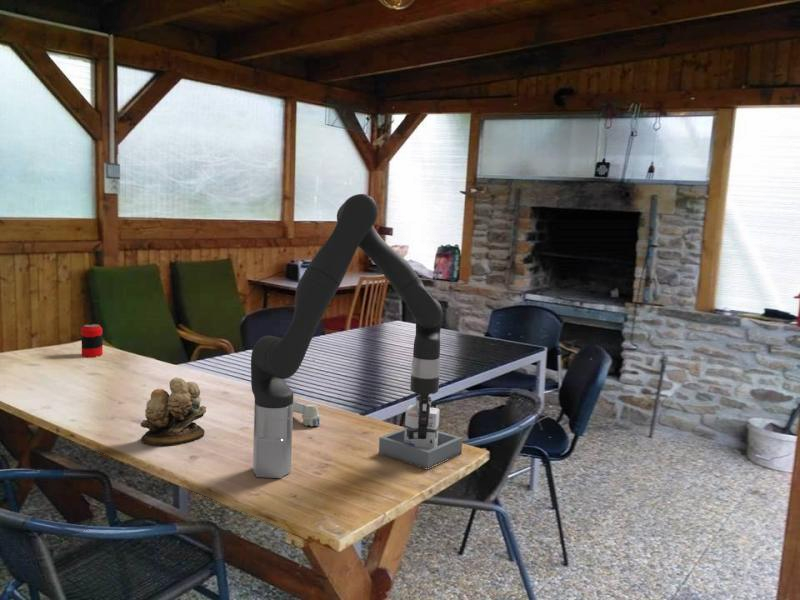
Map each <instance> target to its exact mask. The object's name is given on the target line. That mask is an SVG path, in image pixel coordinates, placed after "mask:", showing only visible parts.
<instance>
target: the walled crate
mask: <svg viewBox="0 0 800 600" xmlns="http://www.w3.org/2000/svg"><path fill="white" fill-rule="evenodd" d="M404 433H405V427H404V428H402V429H401V428H400V429H397V430H396V431H393V432H391V433H387V434H384V435H382V436H379V444H378V454H379V455H382V456H385V457H388V458H391V459H394V458H395V459H394V460H397V459H398V460H397V461H400V460H402V461H401V462H403V461H404V462H403V463H406V462H407V463H406V464H408V463H411V464H413V465H412V466H414V465H416V466H415V467H417V466H420V467H423V468H427V469H428V468H430V467H432V466H434V465H436V464H439V463H441V462H443V461H445V460H447V459H450V458H452V457H454V458H456V457H458V456H460V455H462V453H463V437H461V436H457V435H454V434H450V433H446V432H443V431H440V430H438V443H437V447H434V448H432V449H430V450H428V451H427V450H424V449H421V448H418V447H415V446H412V445H408V444H405V443H404ZM459 454H460V455H459ZM457 455H458V456H457ZM455 456H456V457H455ZM452 459H453V458H452ZM450 460H451V459H450ZM447 461H448V460H447ZM445 462H446V461H445ZM443 463H444V462H443ZM411 464H410V465H411ZM441 464H442V463H441ZM439 465H440V464H439ZM420 467H419V468H420ZM423 468H422V469H423ZM428 470H429V469H428Z"/></svg>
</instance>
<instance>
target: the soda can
mask: <svg viewBox="0 0 800 600" xmlns="http://www.w3.org/2000/svg"><path fill="white" fill-rule="evenodd" d="M103 348H104V347H103V328H102V326H101V325H100V324H96V323H89V324H84V325H83V327H82V328H81V356H82V357H83V356H85V357H84V358H97V357H96V356H99V357H102V356H103V354H104V353H103V350H104V349H103ZM101 355H102V356H101Z"/></svg>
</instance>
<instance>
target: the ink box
mask: <svg viewBox="0 0 800 600" xmlns="http://www.w3.org/2000/svg"><path fill="white" fill-rule="evenodd" d="M404 418H405V422H404V428H405V433H404V443H405V444H408V445H412V446H415V447H418V448H421V449H424V450H427V451H428V450H430V449H432V448H434V447H437V443H438V431H439V426H440V425H439V424H440V409H439V408H437V407H430V416H429V418H428V422H429V424H428V426H427V434H426V439H419V438H418V426H419V425H418V419H419V417H418V416H417V406H416V404H415V405H414V404H411V405H409V406H408V407H407V408H406V410H405V417H404ZM421 420H424V421H426V417H421Z"/></svg>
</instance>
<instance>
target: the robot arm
mask: <svg viewBox="0 0 800 600" xmlns="http://www.w3.org/2000/svg"><path fill="white" fill-rule="evenodd" d="M378 213H379V212H378V205H377V203H376V201H375V199H374V198H373V197H372V196H370V195H368V194H366V193H357V194H354V195H352V196H350V197H348V198H347V199H346V200H345V201H344V202H343V203H342V204H341V206H340V207H339V209H338V210H337V212H336V222H337V223H336V225H335V227H334V229H333V231H332V233H331V234H330V236H329V238H328V239H327V240H326V242H325V243H323V245H322V246H321V247H320V249H319V250H318V252H316V253H315V254H314V257H313V258H312V259H311V261H310V263H309V264H308V266H307V267H306V269H305V270H304V272H303V274H302V276H301V278H300V279H299V281H298V283H297V286H296V290H295V297H294V313H293V314H294V315H293V318H292V320H291V323H290V325H289V326H288V328H287V331H286V332H285V334H284V335H283V337H278V336H274V335H264V336H262V337H260V338H259V339H258V340H257V341H256V342H255V344H254V346H253V347H252V351H251V356H250V378H251V379H250V381H251V382H250V384H251V391H252V394H253V396H254V407H253V408H254V411H253V412H254V414H253V415H254V416H253V449H252V450H253V451H252V457H253V458H252V473H253V474H255V477H256V478H270V479H271V478H272V479H283V477H284V476H287V475H289V474H290V473H291V472H292V451H293V450H292V447H293V423H294V422H293V417H294V412H293V400H294V392H293V389H291V388H290V387H289V386H288V384H287V382H286V381H285V380H287V379H289V378H291V377H292V376H294V375H295V374H296V373H297V372H298V370H299V368H300V367H301V365H302V363H303V361H304V358H305V355H306V354H307V351H308V349H309V346H310V344H311V342H312V340H313V337H314V335H315V333H316V330H317V328H318V326H319V324H320V323H321V321H322V319H323V316H324V315H325V313H326V310H327V308H329V305H330V304H331V302H332V300H333V298H334V297H335V296H336V293H337V291H338V290H339V288H340V286H341V283H342V282H343V280H344V277H345V276H346V273H347V272H348V269H349V267H350V264H351V262H352V260H353V258H354V256H355V253H356V251H357V249H358V247H359V249H360V250H362V252H364V254H365V255H367V257H368V258H369V259H370V260H371V261H372V262H373V263H374V265H375V266H376V267H377V269H379V271H380V272H381V273H382V274H383V275H384V277H385V278H386V279H387V281H388V282H389V284H390V285H391V286H392V288H393V289H394V291H395V292H396V293H397V294H398V295H399V296H400V298H401V299H402V300H403V301H404V303H405V305H406V307H407V308H408V310H409V311H410V312H409V313H411V315H412V316H413V317H414V319H415V335H414V342H413V351H412V353H413V354H412V360H411V361H412V362H411V369H410V383H409V384H410V385H409V386H410V387H409V389H410V391H411V392H412V393H415V394H418V395H417V396H415V403H416V404H415V405H416V406H417V416H418V417H419V419H418V425H419V426H418V438H419V439H426V434H427V426H428V424H429V422H428V418H429V416H430V408H431V406H432V397H431V396H430V395H434V394H437V393H438V392H439V387H440V386H439V385H440V372H441V371H440V370H441V369H440V368H441V363H440V357H441V356H440V355H441V327H442V319H443V307H442V305H441V303H440V302H439V300H437V299H435V298H433V296H432V295H431V294H430V292H429V291H428V289H426V288H425V284H424V282H423V281H422V279H421V278H420V276H419V275H418V273H417V272H416V271H415V269H414V268H413V267H412V265H410V263H409V262H408V261H407V260H406V259H405V258H404V257H403V256H402V255H401V254H400V253H399V252H397V251H396V250H395V249H393V248H392V247H391V246H390V245H389V244H388V243H387V242H386V241H385V240H384V239H383V238H382V237H381V235H380V234H379V233H378V231H377V230H376V228H375V226H374V224H375V223H376V221H377V218H378V215H379V214H378ZM421 417H426V421H424V420H421Z"/></svg>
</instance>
